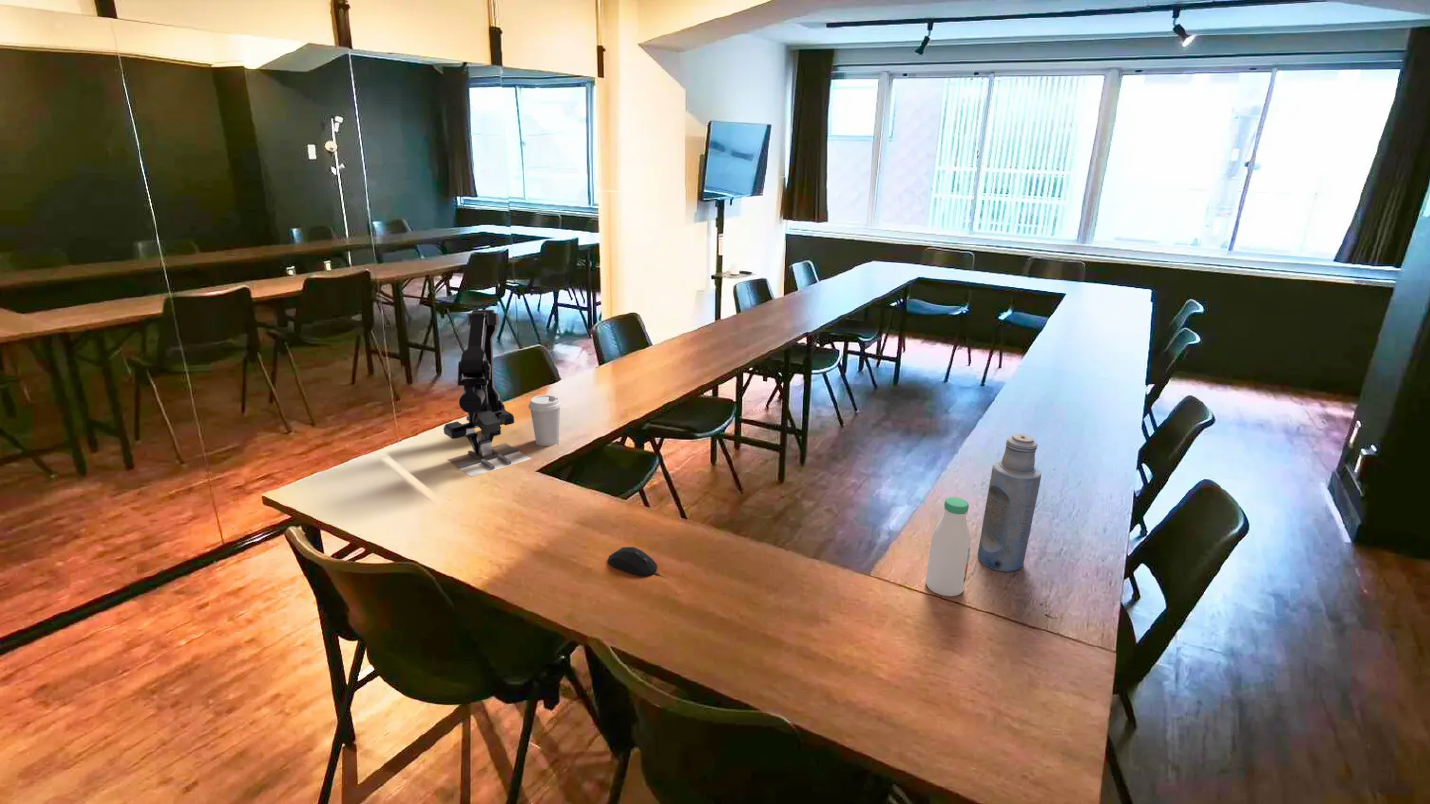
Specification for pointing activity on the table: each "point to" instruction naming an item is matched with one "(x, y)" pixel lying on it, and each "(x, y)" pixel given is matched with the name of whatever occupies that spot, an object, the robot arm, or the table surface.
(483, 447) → the white rectangular block
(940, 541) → the milk bottle
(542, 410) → the coffee cup
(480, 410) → the robot arm
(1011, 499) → the bottle
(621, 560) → the gaming mouse
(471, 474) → the ribbed grey tray
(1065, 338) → the table surface
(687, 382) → the table surface
